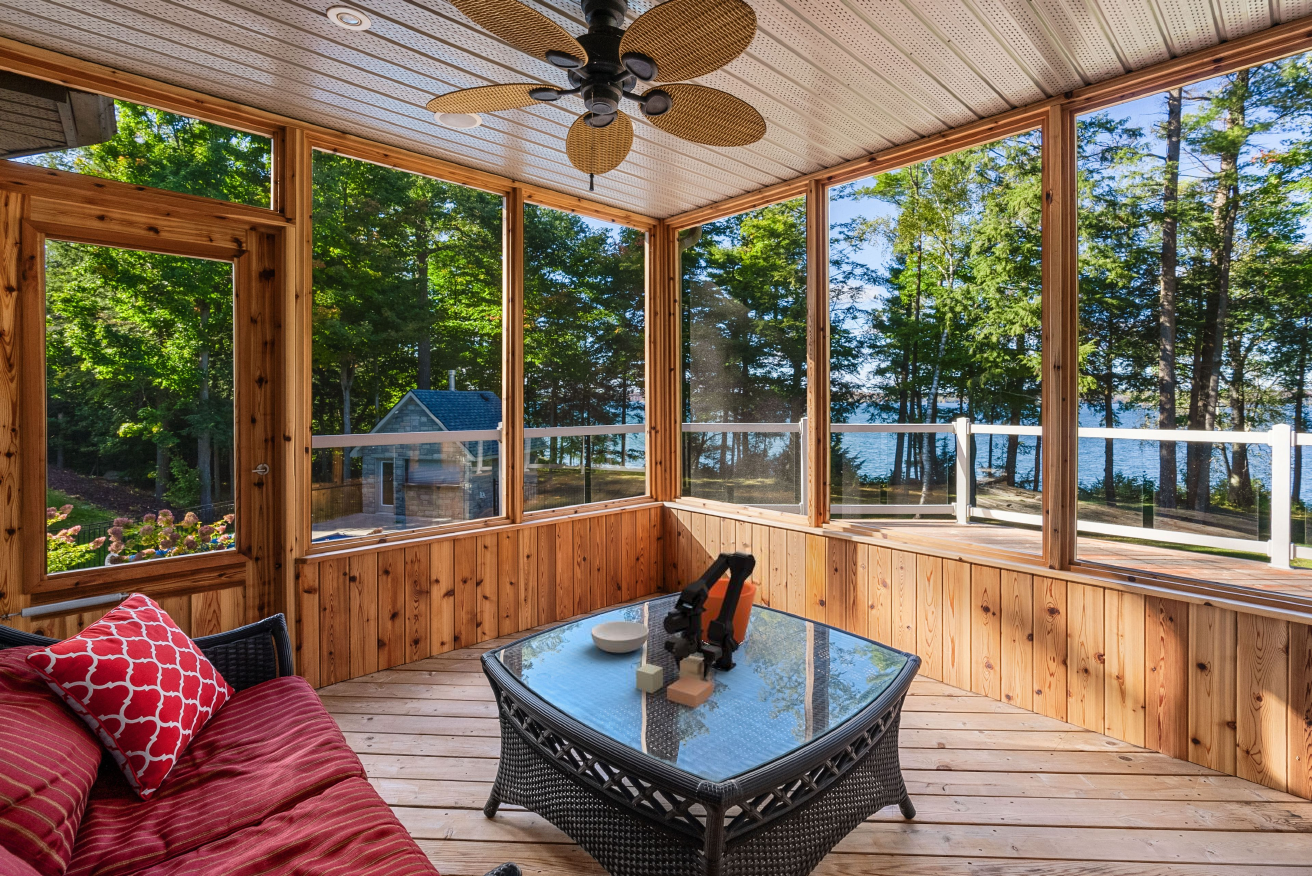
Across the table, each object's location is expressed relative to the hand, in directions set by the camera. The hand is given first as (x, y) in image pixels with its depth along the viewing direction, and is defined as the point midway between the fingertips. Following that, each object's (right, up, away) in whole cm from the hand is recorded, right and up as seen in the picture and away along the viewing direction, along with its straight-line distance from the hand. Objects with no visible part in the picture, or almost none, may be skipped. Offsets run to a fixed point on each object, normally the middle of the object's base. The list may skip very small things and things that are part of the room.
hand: (692, 674), depth 209 cm
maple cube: (0, -1, 0) cm, 1 cm away
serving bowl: (-25, 0, +26) cm, 36 cm away
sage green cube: (-14, -2, -6) cm, 15 cm away
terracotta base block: (-2, -2, -13) cm, 14 cm away
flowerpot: (+13, 0, +34) cm, 37 cm away
